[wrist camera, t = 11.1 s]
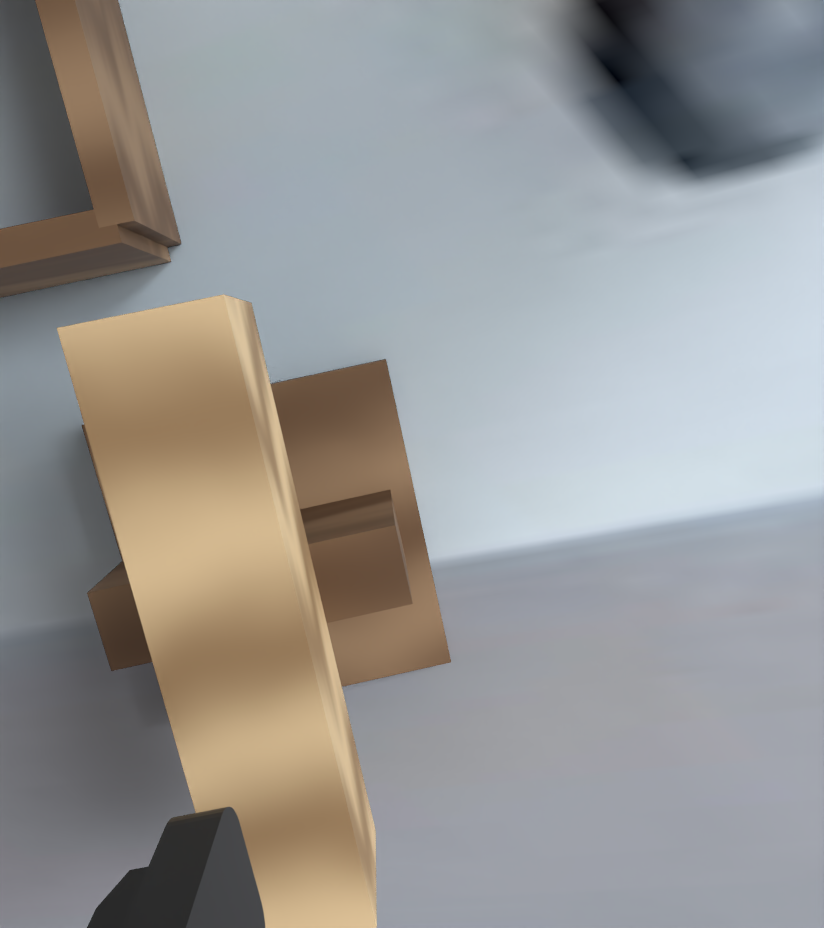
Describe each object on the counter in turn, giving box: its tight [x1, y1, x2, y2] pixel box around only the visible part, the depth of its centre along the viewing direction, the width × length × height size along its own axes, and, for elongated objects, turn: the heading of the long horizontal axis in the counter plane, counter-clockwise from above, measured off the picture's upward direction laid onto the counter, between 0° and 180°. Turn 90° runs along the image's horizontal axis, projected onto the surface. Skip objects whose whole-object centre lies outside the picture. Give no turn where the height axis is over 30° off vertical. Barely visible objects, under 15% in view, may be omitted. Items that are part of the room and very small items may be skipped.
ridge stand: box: [82, 359, 451, 687], centre depth 29 cm, size 14×13×7 cm
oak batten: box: [57, 295, 377, 928], centre depth 23 cm, size 20×4×4 cm, turn 11°
